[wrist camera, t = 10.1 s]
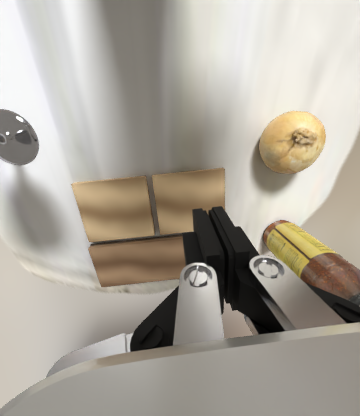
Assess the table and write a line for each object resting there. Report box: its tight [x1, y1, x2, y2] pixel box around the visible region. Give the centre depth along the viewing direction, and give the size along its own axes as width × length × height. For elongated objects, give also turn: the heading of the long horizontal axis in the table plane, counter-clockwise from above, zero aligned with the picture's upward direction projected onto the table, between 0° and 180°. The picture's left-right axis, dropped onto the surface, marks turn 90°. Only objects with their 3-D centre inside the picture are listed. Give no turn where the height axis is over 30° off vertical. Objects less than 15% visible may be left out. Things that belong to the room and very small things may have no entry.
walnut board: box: [88, 235, 186, 287], centre depth 34 cm, size 9×24×1 cm, turn 95°
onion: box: [259, 111, 326, 174], centre depth 25 cm, size 8×8×7 cm
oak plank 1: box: [71, 176, 155, 242], centre depth 30 cm, size 10×11×1 cm
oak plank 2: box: [152, 168, 225, 235], centre depth 30 cm, size 10×11×1 cm
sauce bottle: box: [263, 220, 360, 306], centre depth 25 cm, size 7×6×20 cm
